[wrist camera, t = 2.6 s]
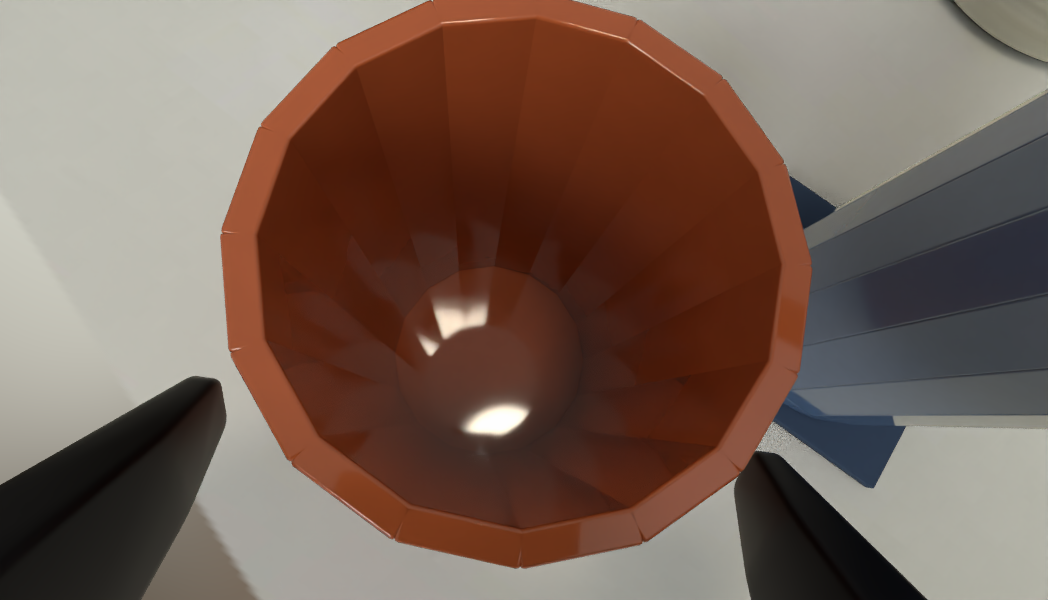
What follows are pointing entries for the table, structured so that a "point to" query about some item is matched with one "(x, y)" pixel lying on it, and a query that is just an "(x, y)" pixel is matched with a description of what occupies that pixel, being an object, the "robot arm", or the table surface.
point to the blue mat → (840, 443)
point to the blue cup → (936, 289)
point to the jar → (1013, 23)
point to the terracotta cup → (515, 279)
